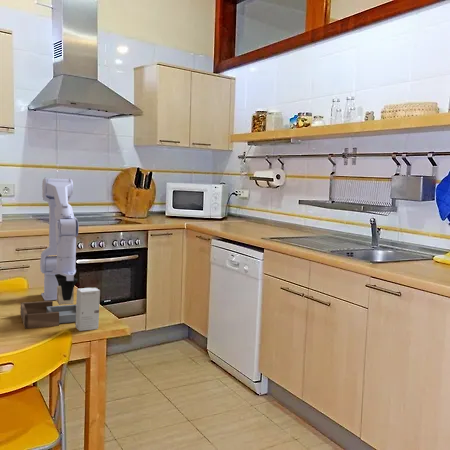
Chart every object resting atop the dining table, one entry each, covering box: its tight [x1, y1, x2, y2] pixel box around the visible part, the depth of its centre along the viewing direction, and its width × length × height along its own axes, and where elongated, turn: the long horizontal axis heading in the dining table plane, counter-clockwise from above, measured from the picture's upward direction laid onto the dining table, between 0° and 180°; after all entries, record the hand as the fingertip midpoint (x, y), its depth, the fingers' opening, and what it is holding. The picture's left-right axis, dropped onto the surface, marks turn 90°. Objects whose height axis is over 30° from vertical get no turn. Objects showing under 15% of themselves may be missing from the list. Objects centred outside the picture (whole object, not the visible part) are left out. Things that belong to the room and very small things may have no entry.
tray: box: [46, 304, 76, 324], centre depth 157 cm, size 13×14×4 cm
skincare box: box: [75, 287, 101, 332], centre depth 148 cm, size 6×4×12 cm
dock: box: [20, 300, 60, 329], centre depth 153 cm, size 14×10×4 cm
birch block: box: [56, 286, 75, 306], centre depth 156 cm, size 4×4×5 cm
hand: (65, 298), depth 156 cm, fingers closed on birch block, 4 cm apart
